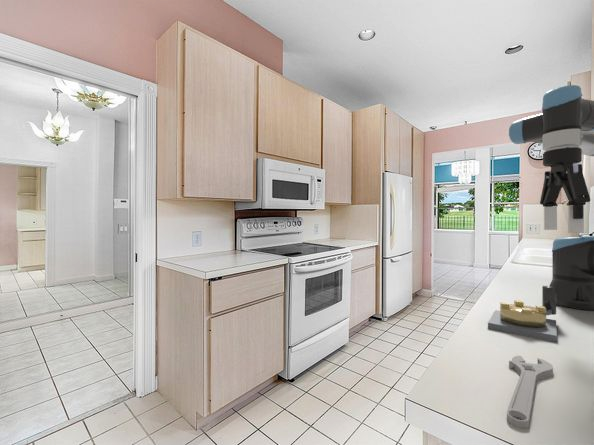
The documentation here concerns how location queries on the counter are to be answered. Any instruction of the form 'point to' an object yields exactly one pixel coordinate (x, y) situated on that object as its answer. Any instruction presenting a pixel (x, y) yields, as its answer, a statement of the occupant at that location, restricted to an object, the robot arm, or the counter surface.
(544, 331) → the base
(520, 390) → the adjustable wrench
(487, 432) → the counter surface
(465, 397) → the counter surface
